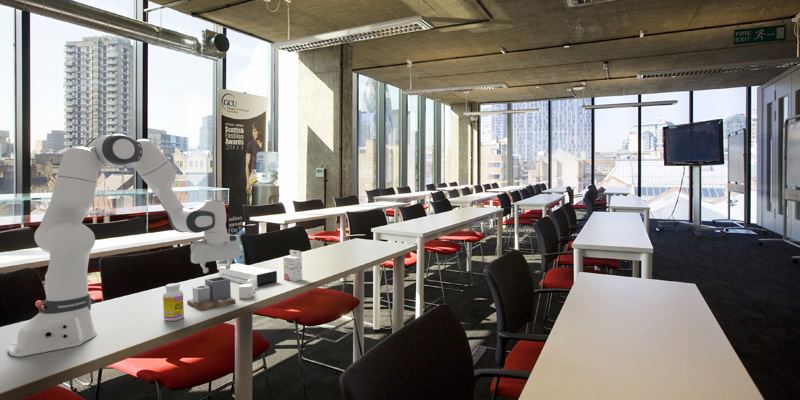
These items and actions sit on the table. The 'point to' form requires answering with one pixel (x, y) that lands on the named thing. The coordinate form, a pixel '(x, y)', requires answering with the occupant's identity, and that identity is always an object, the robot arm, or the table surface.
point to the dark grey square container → (219, 288)
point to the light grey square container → (201, 294)
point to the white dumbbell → (248, 288)
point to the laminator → (248, 274)
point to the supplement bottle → (173, 302)
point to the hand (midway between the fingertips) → (217, 270)
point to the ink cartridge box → (293, 266)
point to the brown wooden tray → (211, 303)
